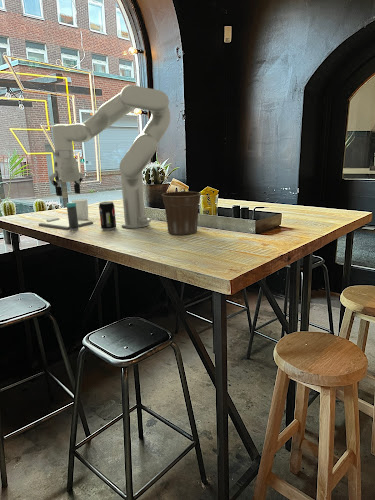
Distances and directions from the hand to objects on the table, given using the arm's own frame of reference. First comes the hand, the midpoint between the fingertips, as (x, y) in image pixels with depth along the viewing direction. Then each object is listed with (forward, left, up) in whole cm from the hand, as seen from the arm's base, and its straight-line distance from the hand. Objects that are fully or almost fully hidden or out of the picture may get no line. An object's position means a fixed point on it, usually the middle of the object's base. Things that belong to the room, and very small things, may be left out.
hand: (68, 194), depth 164 cm
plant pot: (-48, -18, -16) cm, 54 cm away
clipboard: (+14, -6, -16) cm, 22 cm away
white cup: (+18, -19, -16) cm, 31 cm away
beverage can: (-14, -8, -16) cm, 23 cm away
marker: (0, 0, -16) cm, 16 cm away
